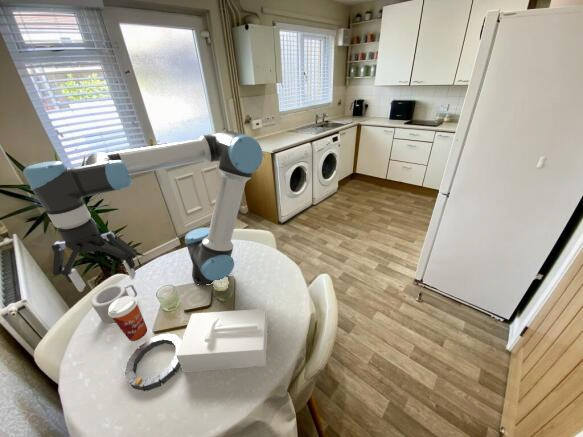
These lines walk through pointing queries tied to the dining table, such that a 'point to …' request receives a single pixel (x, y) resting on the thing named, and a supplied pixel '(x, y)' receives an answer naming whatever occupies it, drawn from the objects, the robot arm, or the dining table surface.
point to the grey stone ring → (138, 355)
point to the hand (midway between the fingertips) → (108, 282)
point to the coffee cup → (128, 317)
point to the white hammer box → (224, 340)
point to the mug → (109, 300)
